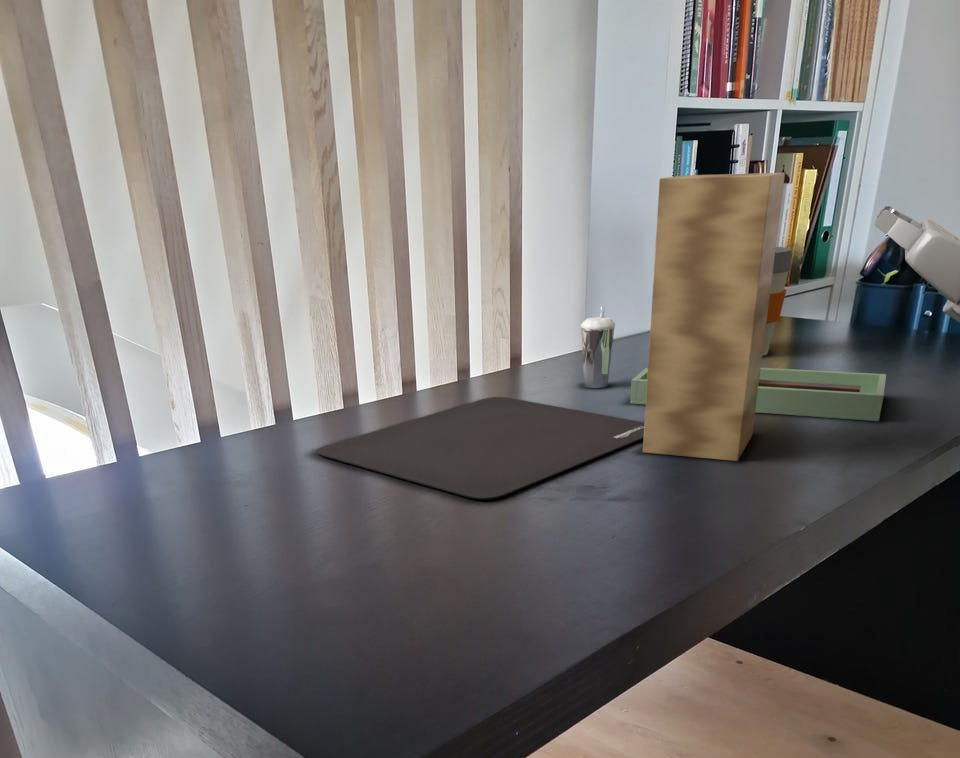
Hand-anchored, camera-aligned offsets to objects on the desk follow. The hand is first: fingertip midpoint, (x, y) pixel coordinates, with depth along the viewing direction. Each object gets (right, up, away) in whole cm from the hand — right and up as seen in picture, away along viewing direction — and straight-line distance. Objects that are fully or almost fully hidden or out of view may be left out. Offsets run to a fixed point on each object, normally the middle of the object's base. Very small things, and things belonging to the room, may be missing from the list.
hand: (879, 213), depth 95 cm
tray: (-9, -17, +15) cm, 24 cm away
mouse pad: (-43, -25, +3) cm, 50 cm away
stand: (-20, -26, -1) cm, 33 cm away
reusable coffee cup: (-3, -1, +42) cm, 42 cm away
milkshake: (-28, -12, +25) cm, 39 cm away
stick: (-9, -16, +15) cm, 24 cm away
